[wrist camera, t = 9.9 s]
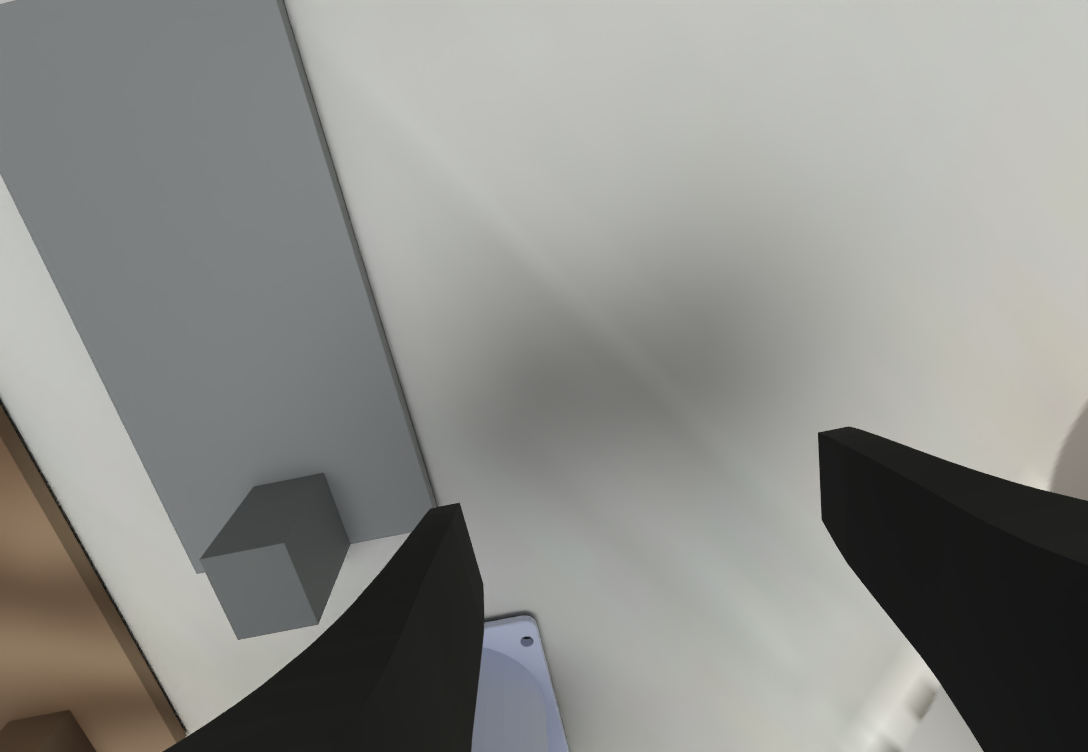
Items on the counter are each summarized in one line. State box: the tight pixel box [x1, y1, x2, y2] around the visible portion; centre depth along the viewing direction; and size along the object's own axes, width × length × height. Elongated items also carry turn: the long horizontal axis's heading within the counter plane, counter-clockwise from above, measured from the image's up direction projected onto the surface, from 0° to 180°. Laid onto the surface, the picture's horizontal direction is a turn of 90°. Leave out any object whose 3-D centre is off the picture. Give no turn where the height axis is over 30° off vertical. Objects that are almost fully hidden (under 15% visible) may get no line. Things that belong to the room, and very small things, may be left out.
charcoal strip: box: [0, 0, 437, 640], centre depth 18 cm, size 18×9×5 cm, turn 11°
